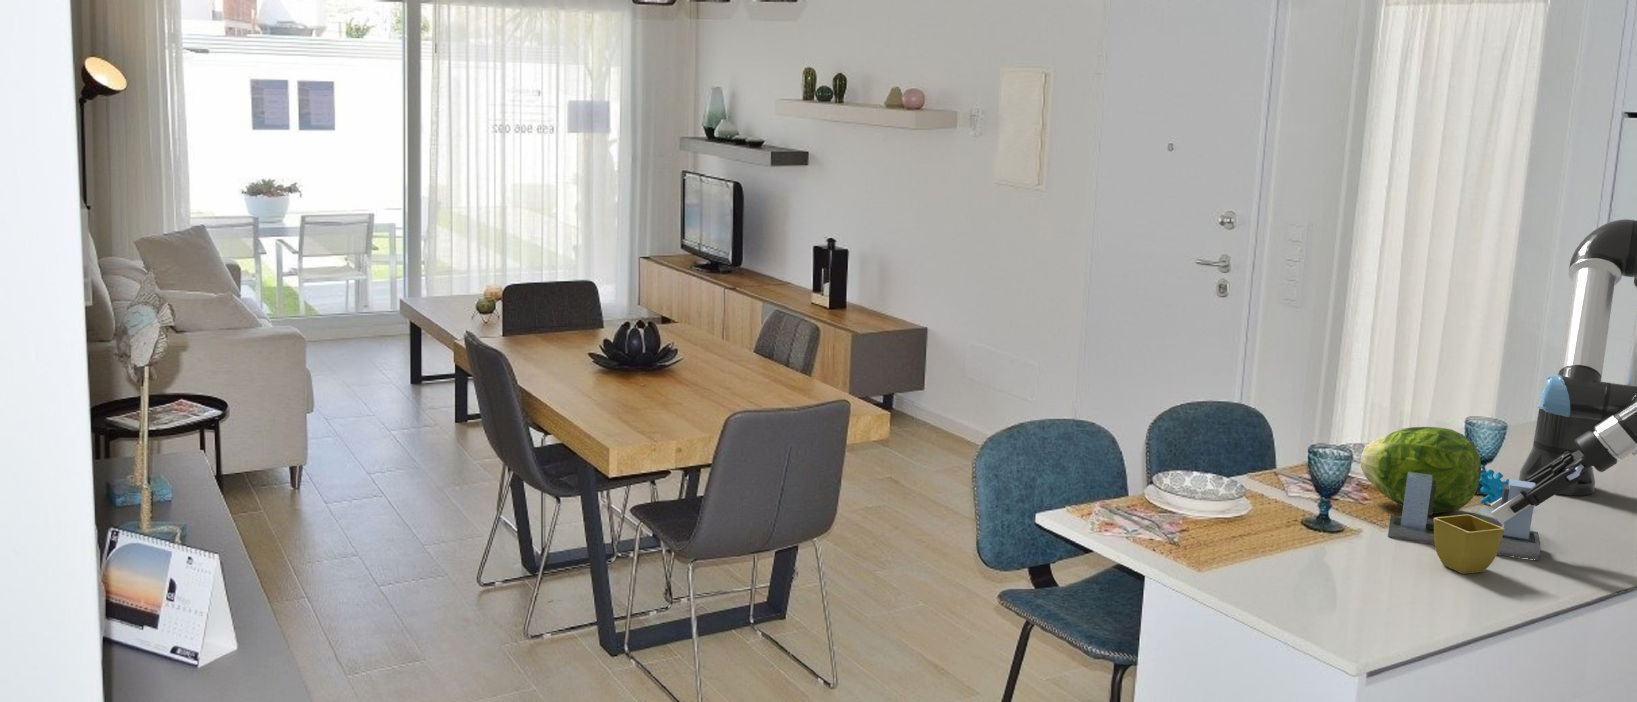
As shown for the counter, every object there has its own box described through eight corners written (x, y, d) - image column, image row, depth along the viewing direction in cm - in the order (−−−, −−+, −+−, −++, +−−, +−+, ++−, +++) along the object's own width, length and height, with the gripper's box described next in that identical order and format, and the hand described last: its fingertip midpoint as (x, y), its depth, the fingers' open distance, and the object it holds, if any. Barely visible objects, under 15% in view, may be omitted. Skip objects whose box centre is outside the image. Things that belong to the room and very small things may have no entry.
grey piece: (1389, 524, 283) (1397, 467, 281) (1535, 547, 273) (1545, 488, 271) (1387, 536, 276) (1395, 478, 273) (1538, 561, 265) (1547, 500, 263)
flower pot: (1426, 562, 262) (1432, 516, 260) (1462, 558, 265) (1468, 513, 263) (1462, 579, 254) (1469, 532, 252) (1499, 575, 257) (1506, 528, 255)
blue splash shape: (1495, 508, 291) (1476, 466, 297) (1474, 521, 296) (1456, 479, 301) (1532, 511, 296) (1513, 469, 301) (1511, 524, 300) (1493, 482, 305)
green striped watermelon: (1373, 486, 309) (1384, 406, 305) (1485, 512, 294) (1498, 428, 290) (1341, 504, 295) (1352, 421, 291) (1457, 532, 280) (1470, 445, 276)
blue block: (1497, 527, 273) (1504, 478, 271) (1527, 532, 271) (1535, 482, 269) (1497, 534, 269) (1505, 484, 267) (1528, 539, 267) (1536, 488, 265)
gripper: (1625, 472, 253) (1510, 543, 263) (1614, 449, 269) (1507, 516, 278) (1596, 440, 254) (1483, 511, 264) (1587, 418, 270) (1481, 487, 279)
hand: (1495, 514), depth 271 cm, fingers closed on blue block, 4 cm apart
